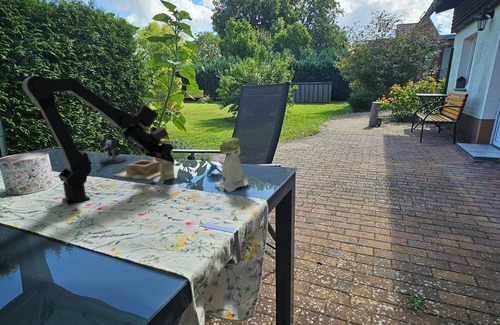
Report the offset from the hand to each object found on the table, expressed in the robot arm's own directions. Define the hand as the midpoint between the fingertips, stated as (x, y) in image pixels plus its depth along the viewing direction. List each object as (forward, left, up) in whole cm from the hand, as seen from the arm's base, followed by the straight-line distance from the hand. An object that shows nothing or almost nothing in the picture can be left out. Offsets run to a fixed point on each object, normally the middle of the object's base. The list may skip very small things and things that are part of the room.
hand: (169, 160), depth 116 cm
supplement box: (+30, -15, -7) cm, 34 cm away
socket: (+14, +4, -7) cm, 16 cm away
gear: (-12, -14, -7) cm, 20 cm away
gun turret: (+45, +5, -7) cm, 46 cm away
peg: (0, +1, -7) cm, 7 cm away
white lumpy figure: (-28, -9, -7) cm, 30 cm away
